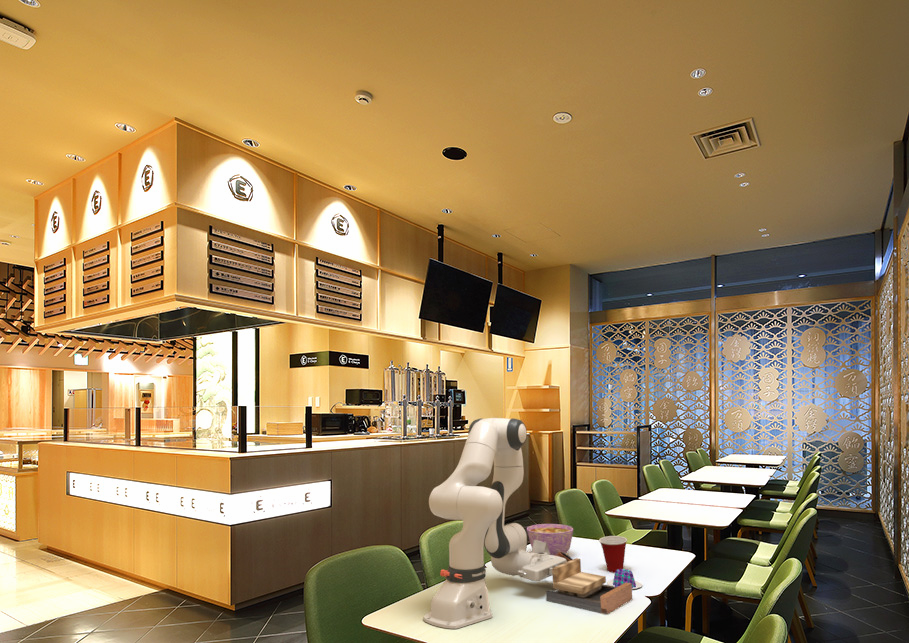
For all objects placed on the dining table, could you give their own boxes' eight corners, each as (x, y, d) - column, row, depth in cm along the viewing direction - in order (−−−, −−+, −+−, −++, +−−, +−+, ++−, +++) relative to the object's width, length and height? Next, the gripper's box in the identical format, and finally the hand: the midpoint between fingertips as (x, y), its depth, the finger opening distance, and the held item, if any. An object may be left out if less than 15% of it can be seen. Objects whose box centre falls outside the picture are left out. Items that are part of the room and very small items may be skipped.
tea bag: (543, 569, 235) (542, 543, 237) (532, 566, 241) (530, 540, 242) (550, 568, 237) (549, 542, 239) (538, 564, 243) (537, 539, 244)
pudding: (648, 585, 213) (647, 570, 214) (632, 593, 204) (631, 577, 205) (617, 579, 221) (616, 564, 222) (601, 586, 212) (600, 571, 213)
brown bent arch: (551, 568, 239) (560, 549, 240) (570, 582, 233) (580, 563, 234) (539, 567, 229) (550, 548, 230) (560, 582, 224) (570, 562, 224)
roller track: (607, 614, 184) (606, 597, 184) (546, 600, 198) (545, 584, 199) (632, 599, 197) (631, 583, 198) (573, 587, 212) (573, 572, 212)
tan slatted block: (583, 602, 190) (581, 573, 192) (553, 595, 198) (552, 568, 199) (606, 589, 202) (604, 562, 204) (577, 584, 210) (576, 558, 211)
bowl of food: (548, 548, 270) (547, 521, 271) (584, 556, 254) (582, 528, 256) (517, 556, 257) (516, 528, 259) (553, 565, 242) (551, 535, 243)
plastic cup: (594, 571, 232) (593, 538, 233) (611, 565, 239) (609, 534, 240) (619, 576, 224) (617, 543, 225) (634, 570, 231) (632, 538, 232)
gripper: (514, 562, 206) (548, 569, 197) (545, 551, 221) (579, 556, 212) (514, 582, 205) (549, 589, 196) (546, 568, 220) (580, 575, 212)
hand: (565, 572), depth 204 cm, fingers closed, pressing on tan slatted block
